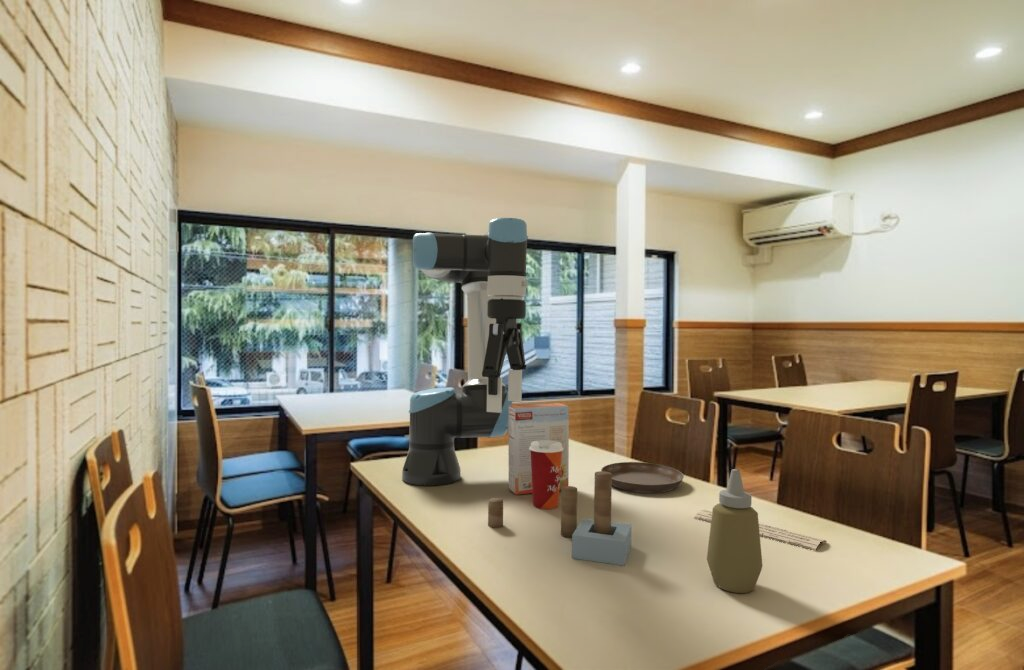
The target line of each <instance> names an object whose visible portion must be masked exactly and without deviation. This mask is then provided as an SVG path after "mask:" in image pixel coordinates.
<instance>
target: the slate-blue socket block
mask: <svg viewBox="0 0 1024 670" xmlns="http://www.w3.org/2000/svg"><path fill="white" fill-rule="evenodd" d="M631 547H632V523H623V522H616V521H615V522H614V521H611V535H606V534H599V533H594V519H592V518H591V519H590V518H582V519H581V520H580V522H579V524H577V528H576V530H575V531H574V533H573V534H572V538H571V559H577V560H582V561H583V560H584V561H591V562H598V563H603V564H611V565H616V566H617V565H619V566H623V567H624V566H626V562H627V560H628V557H629V553H630V551H631Z"/></svg>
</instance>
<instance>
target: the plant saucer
mask: <svg viewBox="0 0 1024 670" xmlns="http://www.w3.org/2000/svg"><path fill="white" fill-rule="evenodd" d="M600 471H605V472H610V473H612V486H613V487H614V488H617V489H620V490H623V491H626V492H634V493H640V492H642V493H643V494H644V493H645V494H657V492H660V493H665V491H667V492H670V491H672V490H674V489H675V488H677V487H678V486H679V485H680V484H681V482H682V481H683V480H684V478H685V477H684V476H685V475H684V474H683V472H681V471H680V470H678V469H675V468H673V467H670V466H666V465H662V464H657V463H652V462H651V463H650V462H640V461H639V462H638V461H624V462H621V461H620V462H613V463H610V464H607V465H604V466H603V467H602V468H601V469H600ZM669 490H670V491H669Z"/></svg>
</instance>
